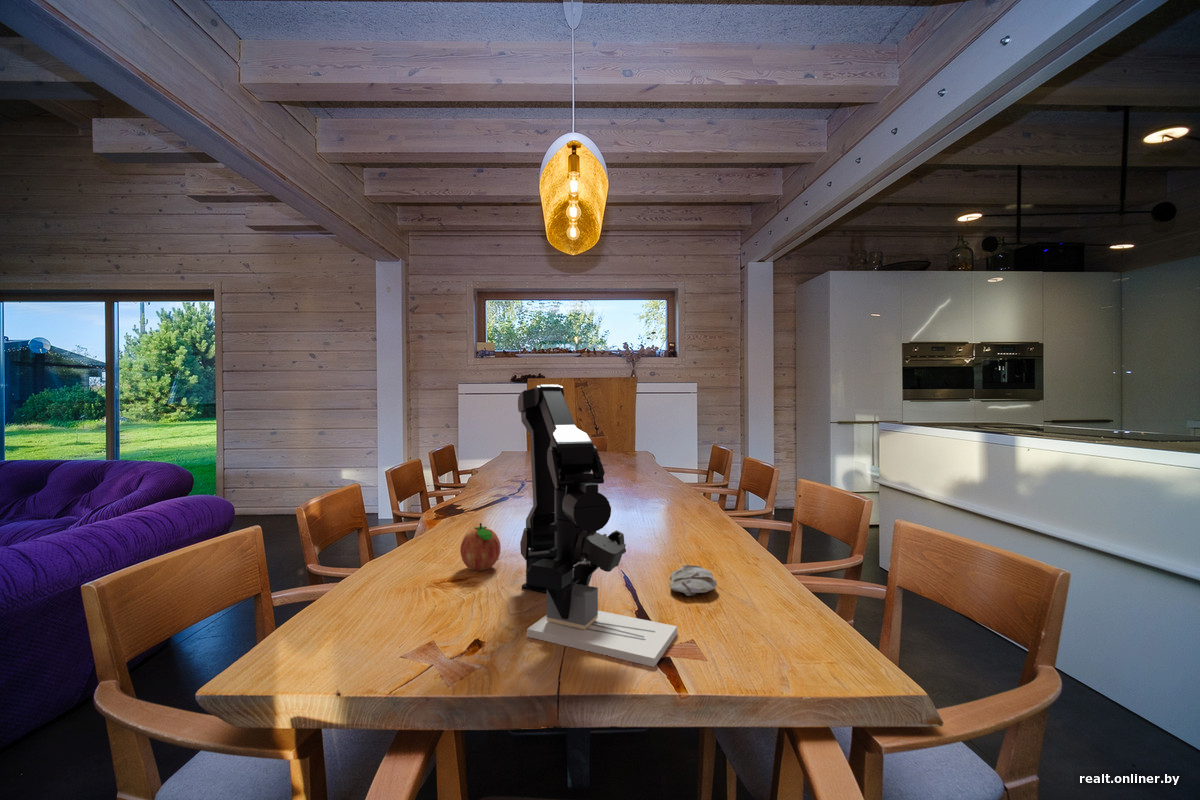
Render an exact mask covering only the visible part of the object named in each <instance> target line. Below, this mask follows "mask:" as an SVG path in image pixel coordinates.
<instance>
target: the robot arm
mask: <svg viewBox="0 0 1200 800" xmlns="http://www.w3.org/2000/svg"><path fill="white" fill-rule="evenodd" d="M564 391H565V390H564V387H563V386H562V385H559V384H539V385H536V386H535V387H533V388H529V389H524V390H522V391H521V392H520V394H519V395H518V397H517V410H518V413H520V415H521V416H520V417H521V419H520V420H521V423H522V425H523V426H524V427H525V429H526V430H527V431H528V433H529V439H530V441H529V443H530V444H529V446H530V463H531V464H530V465H531V466H530V467H531V482H532V484H531V486H532V489H531V490H532V507H531V509H530V511H529V512H528V514H527V517H526V519H525V527H524V529H523V532H522V535H521V539H520V544H519V545H520V547H519V548H520V554H521V555H520V556H522V558H523V559H524V561H525V562H526V563H525V565H526V566H525V568H526V570H525V583H523V584H522V585H521V589H525V590H531V591H536V592H539V593H540V592H541V593H546V594H547V591H548V592H549V594H550V596H551V598H552V600H553V602H554V604H555V606H556V608H557V610H558V612H559V614H560V616H561V618H562V619H568V618H569V612H570V603H571V594H572V587H573V586H574V585H575V584H581V585H586V586H590V583H591V579H592V576H593V574H594V572H596V571H597V570H598V569H599V570H601V571H604V572H606V573H608V572H609V573H610V572H612V571H613V570H614V569H615V568H616V567H618V566H619V565H620V562H621V560H622V556H623V555H624V554H625V553H626V552H627V550H626V545H627V544H625V535H624V533H622V532H620V531H619V530H614V531H612V532H611V533H610V534H608V536H607V534H606V533H603V534H601V533H599V532H597V531H600V530H601V529H603V528H604V527H606V525H608V523H609V520H610V519H611V516H612V515H611V514H612V506H611V504H610V501H609V500H608V498H607V497H606V496H605V495H604V494H603V493H601V492H599V484H604V483H605V478H604V476H605V470H604V469H605V468H604V465H603V464H602V460H601V457H600V454H599V452H598V449H597V447H596V446H595V445H594V443H593V441H592V439H591V438H590V436H589V435H588V433H587V432H586V431H585V432H584V431H582V430H581V429H579V428H578V427H577V425H576V423H575V421H574V419H573V416H572V414H571V412H570V409H569V406H568V404H567V401H566V399H565V393H564ZM591 472H592V473H591Z"/></svg>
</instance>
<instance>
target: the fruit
mask: <svg viewBox="0 0 1200 800" xmlns="http://www.w3.org/2000/svg"><path fill="white" fill-rule="evenodd" d="M482 524H483V523H482V522H480V523H479V526H476V527H474V528H473V529H471V530H470V531H469V532H468V533H466V534H465V536H464V537H463V539H462V541H461V544H460V551H459V552H460V558H461V560H462V562H463V564H464V565H465V566H466V567H467V568H468V569H469V570H472V571H486V570H489V569H491V568H492V567H494V566H495V564H496V563H497V562H498V559H499V557H500V555H501V542H500V538H499V537H498V535H497V534H496V533H495V531H493V530H492V529H489V528H488V526H483V525H482Z"/></svg>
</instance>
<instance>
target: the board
mask: <svg viewBox="0 0 1200 800" xmlns="http://www.w3.org/2000/svg"><path fill="white" fill-rule="evenodd" d="M526 635H527V638H530V639H531V638H532V639H534V640H535V639H536V640H540V641H545V642H549V643H552V644H557V645H559V646H560V645H561V646H564V647H569V648H572V649H577V650H582V651H586V652H589V651H590V652H591V653H594V654H599V655H602V654H603V655H602V656H606V655H608V656H607V657H610V656H611V658H614V657H615V659H620V660H623V661H628V662H632V663H636V664H640V665H645V666H647V667H653V668H655V667H656V666H657V664H658V662H659V661H660V659H661V658H662V656H664V654H665V653H666V650H667V649H668V648H669V646H670V645H671V643H672V642H673V641H674V640H675V638H676V636H677V635H678V626H676V625H673V624H668V623H663V622H657V621H653V620H648V619H642V618H637V617H633V616H628V615H623V614H617V613H612V612H608V611H602V610H598V618H597V619H596V620H595V621H594V622H593V623H592V624H591V625H590V626H589V627H587V628H586V629H580V628H576V627H571V626H567V625H562V624H558V623H554V622H549V621H547V614H545V615H544V616H543V617H541V618H540V619H538V621H536V622H535V623H533V624H532V625H530V626H529V627H527V629H526Z"/></svg>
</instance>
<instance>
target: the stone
mask: <svg viewBox="0 0 1200 800" xmlns="http://www.w3.org/2000/svg"><path fill="white" fill-rule="evenodd" d="M669 579H670V583H669V588H671V589H672V591H673V592H679V593H682V594H683V593H684V595H685V597H686V596H687V597H693V596H694V595H696V594H699V593H701V594H703V593H708V592H710V591H713V590H714V589H715V588H717V586H718V584H717V580H716V579H715V578H714V576H713V573H712V571H710V570H709V569H705V568H703V567H702V566H700V565H694V564H693V565H691V564H684V565H682V567H680V568H678V569H676V570H674V571H672V572H671V573H670V576H669Z"/></svg>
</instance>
